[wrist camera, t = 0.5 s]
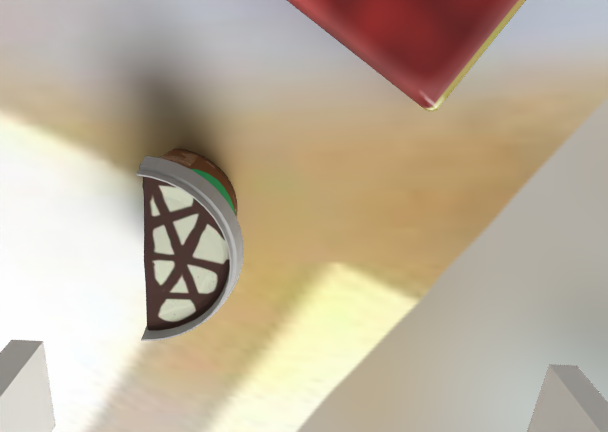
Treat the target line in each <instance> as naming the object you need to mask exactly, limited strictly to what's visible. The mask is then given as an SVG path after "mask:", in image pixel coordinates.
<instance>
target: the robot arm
mask: <svg viewBox="0 0 608 432" xmlns="http://www.w3.org/2000/svg"><path fill="white" fill-rule="evenodd" d="M54 427H55V419H54V412H53V405H52V398H51V392H50V385H49V378H48V371H47V364H46V358H45V351H44V344H43V341H26V340H11V341H10V342H9V343H8V345H7V346H6V347H5V348H4V349H3V350H2V351H1V353H0V432H52V430H53V429H54ZM527 432H608V402H607V401H606V400H605V399H604V397H603V396H602V395H601V394H600V393H599V391H598V390H597V389H596V388H595V387H594V386H593V384H592V383H591V382H590V381H589V380H588V378H587V377H586V376H585V375H584V374H583V372H582V371H581V370H580V369H579V368H578V367H577V366H571V365H549V367H548V370H547V373H546V376H545V379H544V382H543V385H542V388H541V391H540V394H539V397H538V400H537V403H536V406H535V409H534V412H533V415H532V418H531V421H530V424H529V427H528V430H527Z"/></svg>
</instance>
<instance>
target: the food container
mask: <svg viewBox="0 0 608 432" xmlns="http://www.w3.org/2000/svg"><path fill="white" fill-rule="evenodd" d="M139 169H140V170H139V171H138V172H137V174H136V175H138V176H143V190H144V267H145V280H146V306H147V327H146V329H145V332H144V334H143V337H142V339H141V341H149V340H161V339H168V338H172V337H175V336H179V335H181V334H184V333H186V332H188V331H190V330H193V329H194V328H196V327H197V326H199V325H200V324H202V323H203V322H205V321H207V320H208V319H209V318H210V317H211V316H212V315H214V314H215V313H216V312H217V311H218V310H219V308H220V307H221V306H222V305H223V303H224V302H225V301H226V299H227V298H228V296H229V295H230V294H231V292H232V290H233V289H234V287H235V285H236V283H237V281H238V279H239V276H240V273H241V270H242V264H243V257H244V247H243V238H242V233H241V229H240V226H239V223H238V221H237V200H236V195H235V192H234V189H233V187H232V185H231V183H230V181H229V180H228V178H227V176H226V175H225V174H224V173H223V172H222V170H221V169H220V168H218V167H217V166H216V165H215V164H214V163H213V162H211V161H210V160H208V159H207V158H205V157H203V156H201V155H199V154H197V153H194V152H190V151H187V150H182V149H173V150H172V151H170V152H168V153H167V154H165V155H163V156H162V157H160V158H158V157H151V156H145V158H144V160H143V161H142V163H141V164H140V166H139Z"/></svg>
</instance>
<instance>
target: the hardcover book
mask: <svg viewBox="0 0 608 432" xmlns="http://www.w3.org/2000/svg"><path fill="white" fill-rule="evenodd" d="M287 1H288V2H290V3H291V4H292V5H293V6H295V7H296V8H297V9H299V10H300V11H301V12H302V13H304V14H305V15H306V16H307V17H309V18H310V19H311V20H312V21H314V22H315V23H316V24H318V25H319V26H320V27H321V28H323V29H324V30H325V31H326V32H328V33H329V34H330V35H331V36H333V37H334V38H335V39H337V40H338V41H339V42H340V43H342V44H343V45H344V46H345V47H347V48H348V49H349V50H350V51H352V52H353V53H354V54H356V55H357V56H358V57H359V58H361V59H362V60H363V61H364V62H366V63H367V64H368V65H369V66H371V67H372V68H373V69H375V70H376V71H377V72H378V73H380V74H381V75H382V76H383V77H385V78H386V79H387V80H388V81H390V82H391V83H392V84H394V85H395V86H396V87H397V88H399V89H400V90H401V91H402V92H404V93H405V94H406V95H407V96H409V97H410V98H411V99H413V100H414V101H415V102H416V103H418V104H419V105H420V106H421V107H423V108H424V109H425V110H428V111H435V110H437V109H438V108H439V107H440V105H441V104H442V103H443V102H444V100H445V99H446V98H447V97H448V96H449V94H450V93H451V92H452V91H453V89H454V88H455V87H456V86H457V84H458V83H459V82H460V81H461V80H462V78H463V77H464V76H465V75H466V73H467V72H468V71H469V70H470V68H471V67H472V66H473V65H474V64H475V62H476V61H477V60H478V59H479V57H480V56H481V55H482V54H483V52H484V51H485V50H486V49H487V48H488V46H489V45H490V44H491V43H492V41H493V40H494V39H495V38H496V36H497V35H498V34H499V33H500V32H501V30H502V29H503V28H504V27H505V25H506V24H507V23H508V22H509V20H510V19H511V18H512V17H513V16H514V14H515V13H516V12H517V11H518V9H519V8H520V7H521V6H522V4H523V3H524V2H525V1H526V0H287Z"/></svg>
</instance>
